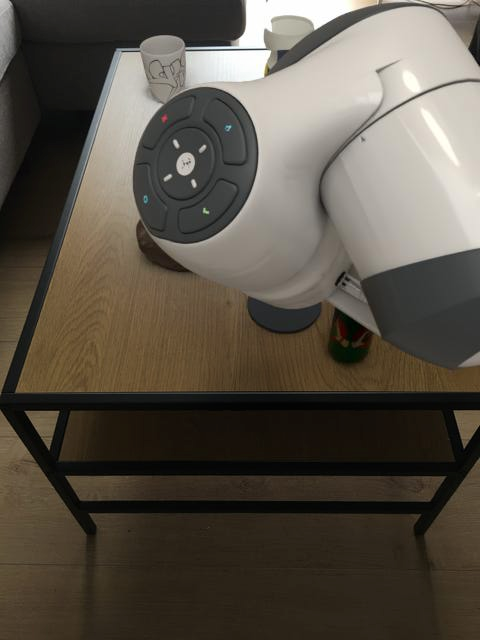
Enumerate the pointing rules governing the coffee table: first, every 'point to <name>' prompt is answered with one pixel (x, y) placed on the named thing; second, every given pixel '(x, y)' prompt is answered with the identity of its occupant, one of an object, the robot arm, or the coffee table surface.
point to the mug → (164, 66)
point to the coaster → (282, 316)
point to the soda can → (348, 338)
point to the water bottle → (285, 36)
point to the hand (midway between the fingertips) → (329, 278)
